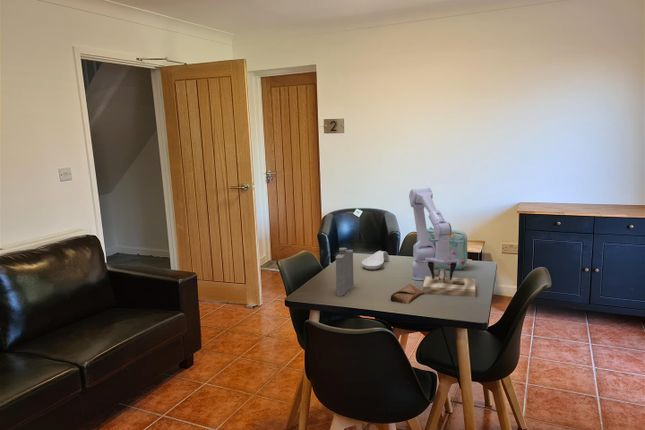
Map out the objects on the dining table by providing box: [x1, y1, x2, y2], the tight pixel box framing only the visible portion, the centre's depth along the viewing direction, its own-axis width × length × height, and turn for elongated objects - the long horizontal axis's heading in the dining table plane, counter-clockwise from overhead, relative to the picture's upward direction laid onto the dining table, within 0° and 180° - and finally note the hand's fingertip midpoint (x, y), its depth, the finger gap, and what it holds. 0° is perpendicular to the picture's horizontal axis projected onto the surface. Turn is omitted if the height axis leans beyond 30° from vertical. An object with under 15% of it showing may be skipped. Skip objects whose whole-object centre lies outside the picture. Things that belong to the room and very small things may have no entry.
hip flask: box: [335, 247, 355, 297], centre depth 207 cm, size 16×4×20 cm, turn 156°
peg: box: [438, 268, 446, 283], centre depth 205 cm, size 4×4×9 cm
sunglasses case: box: [390, 283, 424, 305], centre depth 197 cm, size 18×7×7 cm, turn 145°
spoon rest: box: [361, 250, 390, 271], centre depth 249 cm, size 24×12×7 cm, turn 149°
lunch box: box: [416, 226, 468, 270], centre depth 240 cm, size 27×10×21 cm, turn 67°
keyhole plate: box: [422, 276, 476, 298], centre depth 205 cm, size 22×16×3 cm
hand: (441, 278), depth 205 cm, fingers open, 7 cm apart
